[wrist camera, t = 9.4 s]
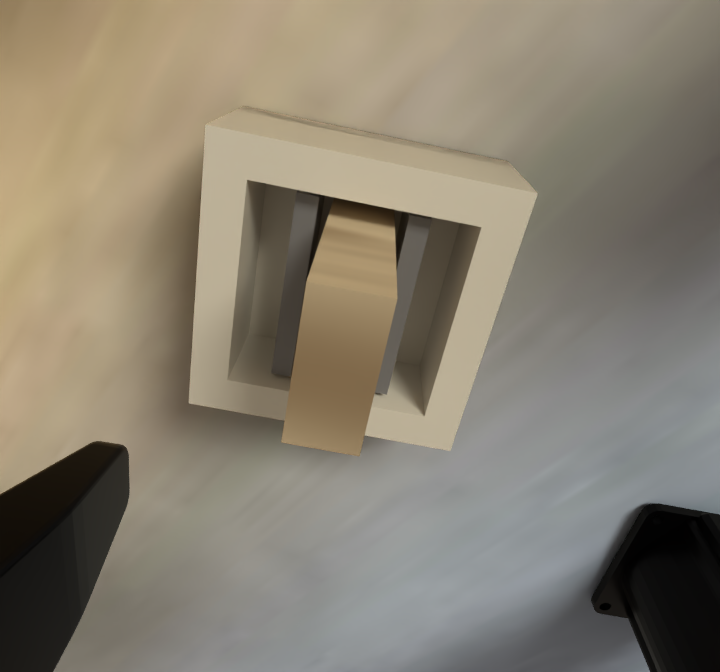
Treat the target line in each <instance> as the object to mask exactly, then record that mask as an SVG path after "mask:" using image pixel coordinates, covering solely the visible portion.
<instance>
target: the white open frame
mask: <svg viewBox="0 0 720 672" xmlns="http://www.w3.org/2000/svg"><path fill="white" fill-rule="evenodd" d="M537 195H538V193H537V192H536V191H535V190H534V189H533V188H532V187H531V185H530V184H529V183H528V182H527V181H526V180H525V179H524V178H523V177H522V176H521V175H520V174H519V173H518V172H517V171H516V170H515V168H514V167H513V166H512V165H511V164H510V163H509V162H508V161H504V160H499V159H494V158H489V157H485V156H480V155H475V154H470V153H465V152H461V151H456V150H451V149H446V148H442V147H437V146H432V145H427V144H422V143H418V142H413V141H408V140H403V139H399V138H394V137H389V136H384V135H379V134H375V133H370V132H365V131H360V130H356V129H351V128H346V127H341V126H336V125H332V124H327V123H322V122H317V121H313V120H308V119H303V118H298V117H293V116H289V115H284V114H279V113H274V112H270V111H265V110H260V109H255V108H250V107H246V106H242V107H240V108H238V109H236V110H234V111H232V112H230V113H228V114H226V115H224V116H222V117H220V118H218V119H216V120H214V121H212V122H210V123H208V124H206V126H205V142H204V158H203V175H202V191H201V208H200V224H199V241H198V257H197V274H196V290H195V307H194V323H193V340H192V356H191V372H190V389H189V403H190V404H195V405H201V406H206V407H212V408H217V409H222V410H228V411H233V412H239V413H244V414H250V415H255V416H261V417H266V418H272V419H277V420H283V421H285V415H286V409H287V402H288V396H289V390H290V383H291V377H292V370H293V364H294V358H295V351H296V345H297V338H298V332H299V326H300V319H301V313H302V307H303V300H304V294H305V287H306V281H307V278H308V275H309V272H310V269H311V266H312V263H313V260H314V257H315V254H316V251H317V248H318V245H319V242H320V239H321V236H322V233H323V230H324V227H325V224H326V221H327V218H328V215H329V212H330V209H331V206H332V203H333V200H334V197H335V198H340V199H345V200H350V201H355V202H359V203H364V204H369V205H374V206H379V207H384V208H389V209H394V214H395V242H396V271H397V303H396V307H395V311H394V315H393V320H392V324H391V328H390V332H389V336H388V340H387V344H386V349H385V353H384V357H383V361H382V365H381V369H380V373H379V377H378V382H377V386H376V390H375V394H374V398H373V402H372V406H371V410H370V415H369V419H368V423H367V427H366V431H365V436H371V437H376V438H382V439H387V440H393V441H398V442H404V443H409V444H415V445H420V446H426V447H431V448H437V449H442V450H448V451H450V450H451V447H452V444H453V441H454V438H455V435H456V433H457V430H458V427H459V424H460V421H461V418H462V415H463V412H464V409H465V406H466V403H467V400H468V397H469V394H470V391H471V388H472V386H473V383H474V380H475V377H476V374H477V371H478V368H479V365H480V362H481V359H482V356H483V353H484V350H485V347H486V344H487V341H488V339H489V336H490V333H491V330H492V327H493V324H494V321H495V318H496V315H497V312H498V309H499V306H500V303H501V300H502V297H503V295H504V292H505V289H506V286H507V283H508V280H509V277H510V274H511V271H512V268H513V265H514V262H515V259H516V256H517V253H518V250H519V248H520V245H521V242H522V239H523V236H524V233H525V230H526V227H527V224H528V221H529V218H530V215H531V212H532V209H533V206H534V203H535V201H536V198H537Z"/></svg>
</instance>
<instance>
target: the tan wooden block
mask: <svg viewBox="0 0 720 672" xmlns="http://www.w3.org/2000/svg"><path fill="white" fill-rule="evenodd" d="M396 303H397V271H396V242H395V214H394V209H389V208H384V207H379V206H374V205H369V204H364V203H359V202H355V201H350V200H345V199H340V198H335V197H334V200H333V203H332V206H331V209H330V212H329V215H328V218H327V221H326V224H325V227H324V230H323V233H322V236H321V239H320V242H319V245H318V248H317V251H316V254H315V257H314V260H313V263H312V266H311V269H310V272H309V275H308V278H307V281H306V287H305V294H304V300H303V307H302V313H301V319H300V326H299V332H298V338H297V345H296V351H295V358H294V364H293V370H292V377H291V383H290V390H289V396H288V402H287V409H286V415H285V421H284V428H283V434H282V441H281V442H282V443H287V444H293V445H298V446H304V447H310V448H315V449H321V450H327V451H332V452H338V453H343V454H349V455H355V456H360V452H361V448H362V443H363V439H364V435H365V431H366V427H367V423H368V419H369V415H370V410H371V406H372V402H373V398H374V394H375V390H376V386H377V382H378V377H379V373H380V369H381V365H382V361H383V357H384V353H385V349H386V344H387V340H388V336H389V332H390V328H391V324H392V320H393V315H394V311H395V307H396Z"/></svg>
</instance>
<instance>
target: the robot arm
mask: <svg viewBox="0 0 720 672" xmlns="http://www.w3.org/2000/svg"><path fill="white" fill-rule="evenodd" d="M128 499H129V455H128V451H127V448H126V447H125V446H123V445H120V444H114V443H108V442H102V441H96V442H92V443H90V444H88V445H86V446H85V447H83V448H81V449H79V450H78V451H76V452H74V453H72V454H71V455H69V456H67V457H65V458H63V459H62V460H60V461H58V462H56V463H55V464H53V465H51V466H49V467H48V468H46V469H44V470H42V471H40V472H39V473H37V474H35V475H33V476H32V477H30V478H28V479H26V480H25V481H23V482H21V483H19V484H18V485H16V486H14V487H12V488H10V489H9V490H7V491H5V492H3V493H2V494H0V672H53V671H54V669H55V667H56V665H57V663H58V662H59V660H60V658H61V656H62V654H63V652H64V650H65V648H66V647H67V645H68V643H69V641H70V639H71V637H72V635H73V633H74V631H75V629H76V627H77V625H78V623H79V621H80V619H81V617H82V615H83V613H84V610H85V608H86V606H87V603H88V601H89V599H90V596H91V594H92V591H93V589H94V586H95V584H96V581H97V579H98V576H99V574H100V571H101V569H102V566H103V564H104V562H105V559H106V557H107V554H108V552H109V549H110V547H111V544H112V542H113V539H114V537H115V534H116V532H117V529H118V527H119V524H120V522H121V519H122V517H123V515H124V512H125V509H126V507H127V503H128ZM656 515H658V516H656ZM654 516H656V517H654ZM591 601H592V604H593V607H594V609H595V611H596V612H597V613H600V614H606V615H612V616H618V617H624V618H628V619H629V621H630V624H631V626H632V629H633V631H634V633H635V636H636V638H637V641H638V643H639V646H640V648H641V650H642V653H643V655H644V658H645V660H646V663H647V665H648V667H649V670H650V672H720V515H719V514H713V513H708V512H702V511H697V510H691V509H685V508H680V507H674V506H669V505H663V504H650V505H648V506H646V507H645V508H644V509H643V510H642V512H641V513H640V515H639V517H638V519H637V520H636V522H635V524H634V525H633V527H632V529H631V531H630V532H629V534H628V536H627V537H626V539H625V541H624V543H623V544H622V546H621V548H620V550H619V551H618V553H617V555H616V556H615V558H614V560H613V562H612V563H611V565H610V567H609V568H608V570H607V572H606V574H605V575H604V577H603V579H602V581H601V582H600V584H599V586H598V587H597V589H596V591H595V593H594V594H593V596H592V599H591Z"/></svg>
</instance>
